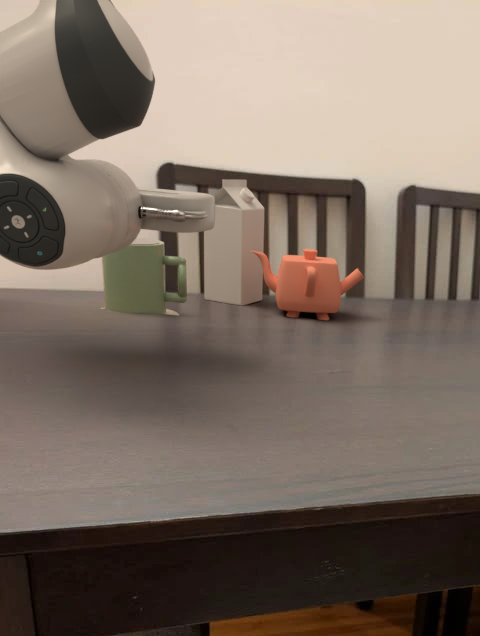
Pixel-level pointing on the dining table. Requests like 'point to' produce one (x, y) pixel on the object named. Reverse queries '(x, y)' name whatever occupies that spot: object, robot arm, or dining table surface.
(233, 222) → the milk carton
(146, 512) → the dining table surface
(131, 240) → the robot arm
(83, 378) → the dining table surface
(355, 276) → the teapot
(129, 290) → the mug
